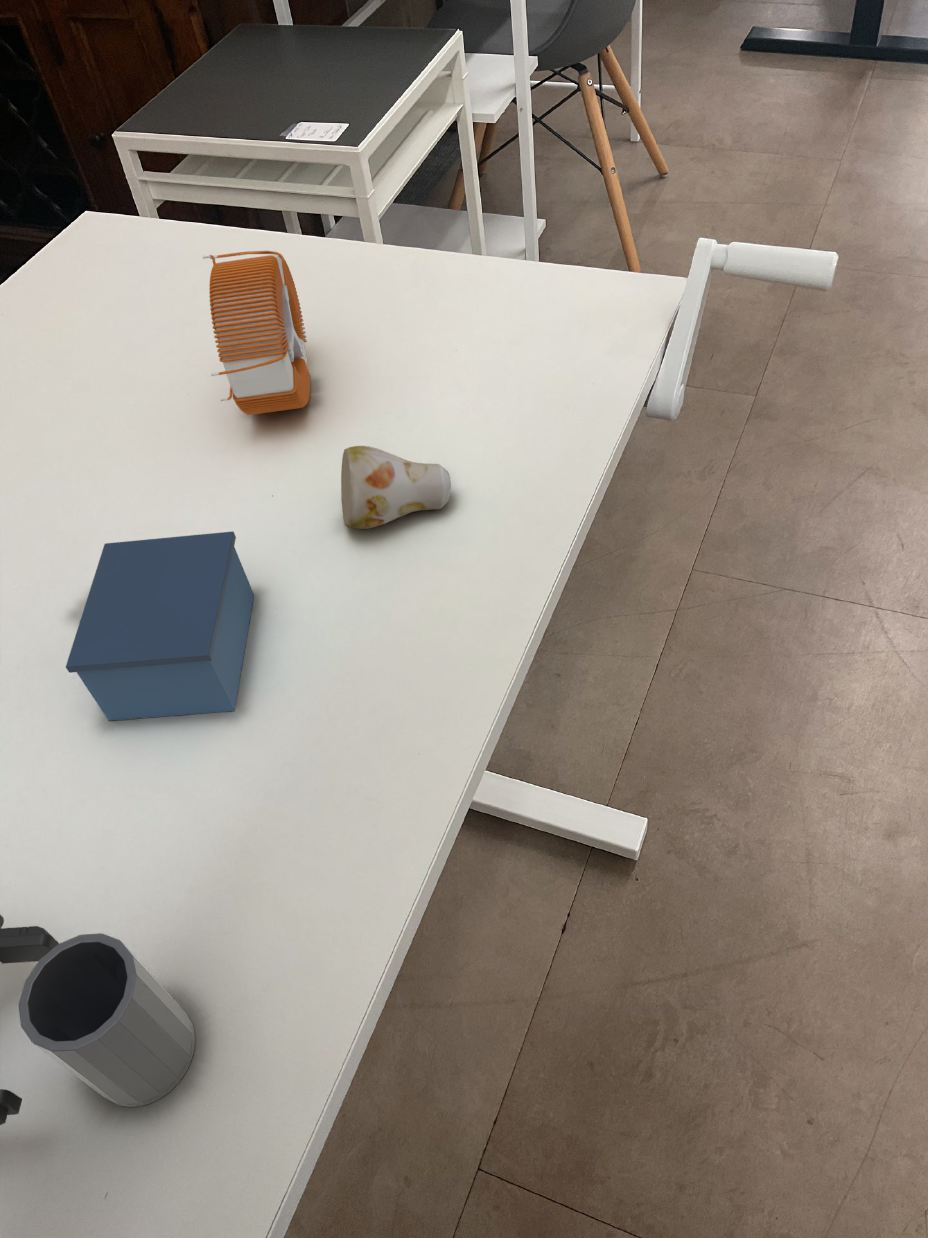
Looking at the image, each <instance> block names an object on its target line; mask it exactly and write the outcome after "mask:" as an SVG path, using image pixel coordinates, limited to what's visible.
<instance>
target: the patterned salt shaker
mask: <svg viewBox="0 0 928 1238" xmlns="http://www.w3.org/2000/svg"><path fill="white" fill-rule="evenodd" d="M341 459H342V460H341V472H340V495H341V497H340V499H341V510H342V512H341V513H342V519H343V524H344V526H345V527H347V528H353V529H356V530H357V529H358V530H363V529H364V530H365V529H373V528H376V527H379V526H382V525H385V524H387V523H389V522H392V521H394V520H397V519H398V518H401V517H403V516H406V515H408V514H410V513H415V512H418V511H428V510H429V511H430V510H440V509H442V508H443V507H444V506H445V505H447V503H448V502H449V500H450V498H451V489H452V481H451V476H450V475H451V474H450V473H449V471H448V470H447V469H446V468H445V467H443V466H442V465H441V464H439V463H423V462H422V463H421V462H415V461H411V460H407V459H404V458H402V457H401V456H397V455H395V454H392V453H390V452H387V451H386V450H382V449H380V448H376V447H374V446H368V445H355V446H349V447H347V448H344V450H343V452H342V458H341Z"/></svg>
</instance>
